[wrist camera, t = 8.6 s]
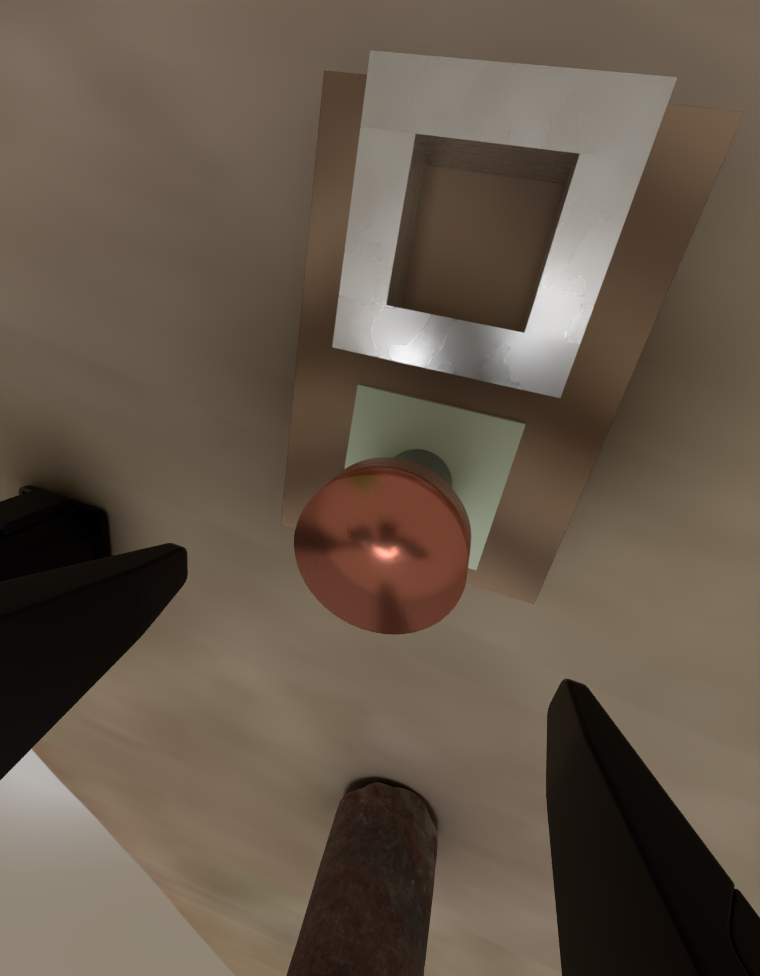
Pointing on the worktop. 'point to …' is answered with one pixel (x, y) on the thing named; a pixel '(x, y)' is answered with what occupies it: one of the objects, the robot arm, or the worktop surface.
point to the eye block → (502, 151)
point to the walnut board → (495, 318)
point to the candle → (371, 889)
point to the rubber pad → (440, 447)
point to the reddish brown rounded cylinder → (386, 543)
